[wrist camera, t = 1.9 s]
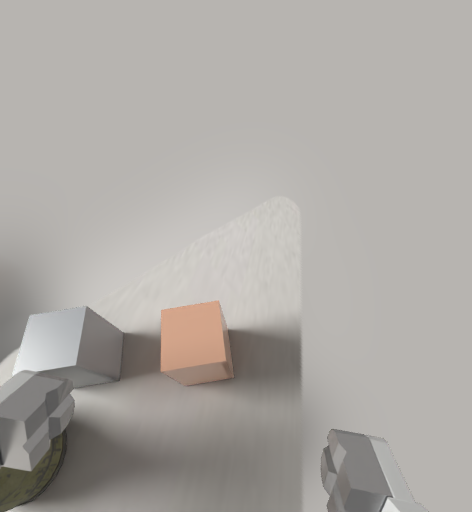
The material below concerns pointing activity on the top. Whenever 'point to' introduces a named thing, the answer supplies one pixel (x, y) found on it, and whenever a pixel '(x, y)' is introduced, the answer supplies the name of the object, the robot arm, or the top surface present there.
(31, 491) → the thermos
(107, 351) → the light gray boxy block
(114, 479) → the top surface
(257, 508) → the top surface
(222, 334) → the tan block
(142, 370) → the top surface
